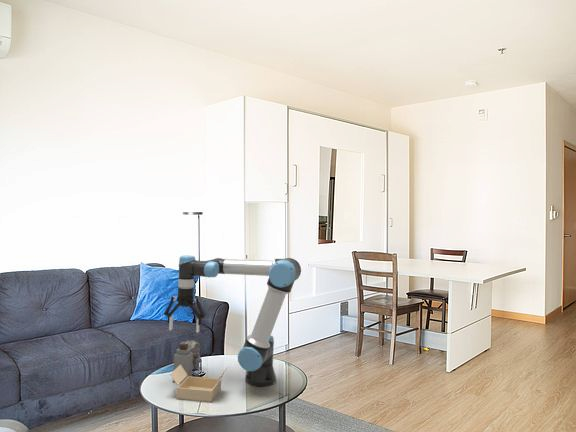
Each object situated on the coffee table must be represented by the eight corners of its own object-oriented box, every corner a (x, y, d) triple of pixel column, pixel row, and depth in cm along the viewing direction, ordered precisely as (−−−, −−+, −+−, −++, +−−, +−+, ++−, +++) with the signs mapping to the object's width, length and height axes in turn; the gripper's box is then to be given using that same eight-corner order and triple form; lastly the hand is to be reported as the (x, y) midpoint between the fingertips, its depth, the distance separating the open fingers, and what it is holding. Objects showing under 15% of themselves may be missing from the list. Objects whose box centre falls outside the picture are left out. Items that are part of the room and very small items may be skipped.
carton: (220, 389, 222) (221, 379, 222) (211, 402, 208) (211, 391, 207) (187, 386, 224) (188, 376, 224) (176, 399, 210) (176, 387, 210)
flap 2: (220, 377, 221) (220, 378, 221) (212, 388, 208) (212, 388, 208) (226, 367, 221) (227, 367, 221) (219, 376, 208) (219, 377, 208)
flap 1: (180, 364, 224) (180, 364, 224) (170, 373, 211) (169, 374, 211) (187, 375, 223) (187, 375, 223) (177, 385, 210) (177, 385, 211)
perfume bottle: (186, 384, 228) (187, 346, 227) (173, 382, 229) (174, 345, 229) (191, 379, 234) (193, 343, 234) (178, 377, 236) (180, 341, 235)
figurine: (189, 374, 242) (191, 344, 241) (173, 369, 247) (174, 340, 247) (202, 368, 250) (204, 340, 250) (186, 364, 256) (187, 336, 256)
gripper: (213, 287, 233) (211, 330, 233) (164, 284, 236) (162, 327, 237) (208, 290, 226) (206, 334, 226) (158, 286, 229) (156, 330, 229)
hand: (184, 330), depth 231 cm, fingers open, 13 cm apart
